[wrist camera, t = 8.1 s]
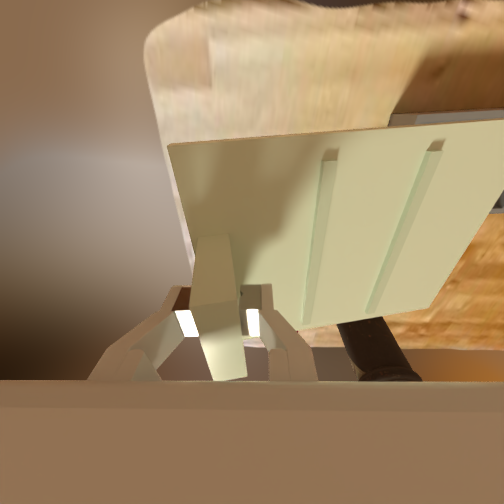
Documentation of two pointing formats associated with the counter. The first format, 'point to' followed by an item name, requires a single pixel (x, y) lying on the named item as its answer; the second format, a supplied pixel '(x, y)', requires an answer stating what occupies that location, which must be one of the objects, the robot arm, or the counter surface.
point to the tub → (451, 116)
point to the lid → (331, 222)
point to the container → (375, 352)
